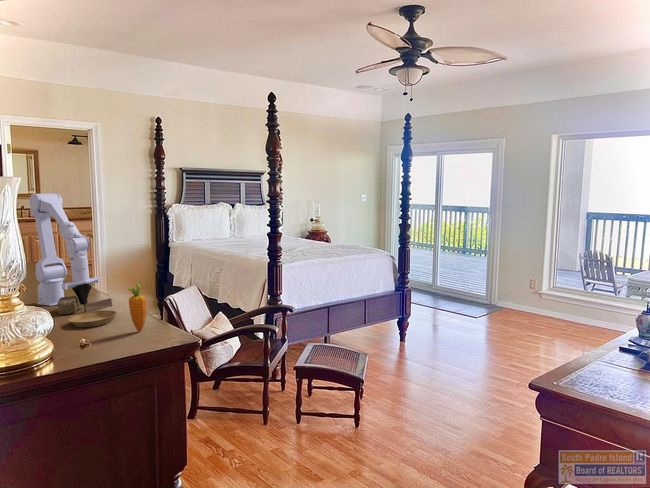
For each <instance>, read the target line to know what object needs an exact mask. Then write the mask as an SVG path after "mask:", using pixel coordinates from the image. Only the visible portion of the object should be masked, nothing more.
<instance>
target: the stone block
mask: <svg viewBox="0 0 650 488" xmlns="http://www.w3.org/2000/svg"><path fill="white" fill-rule="evenodd" d="M57 307H58V313H59V315H69V314H75V313H77V309H78V307H79V305H78V304H77V295H70V296H64V297H61V298H60V299H59V301H58V304H57Z"/></svg>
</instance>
